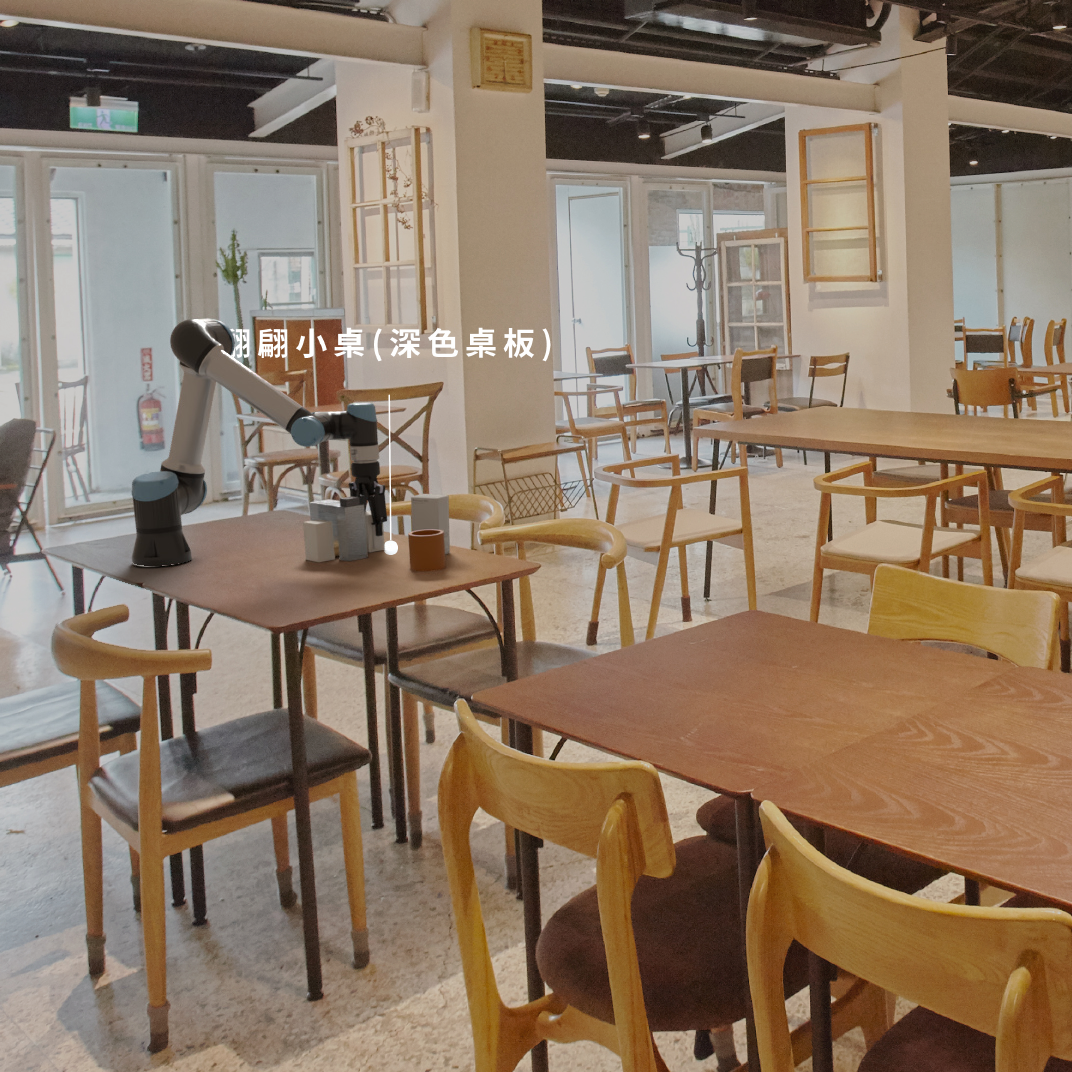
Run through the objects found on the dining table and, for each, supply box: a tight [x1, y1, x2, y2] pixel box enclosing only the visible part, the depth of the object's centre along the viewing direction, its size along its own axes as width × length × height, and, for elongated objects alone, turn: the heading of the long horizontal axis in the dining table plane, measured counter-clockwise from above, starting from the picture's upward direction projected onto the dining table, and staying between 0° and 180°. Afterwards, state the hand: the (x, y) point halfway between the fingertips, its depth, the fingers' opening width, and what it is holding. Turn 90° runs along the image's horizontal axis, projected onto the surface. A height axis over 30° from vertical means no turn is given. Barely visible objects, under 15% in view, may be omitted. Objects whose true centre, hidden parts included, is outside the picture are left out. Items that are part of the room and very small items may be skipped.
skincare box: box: [410, 493, 451, 556], centre depth 317 cm, size 8×7×16 cm
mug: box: [407, 529, 447, 572], centre depth 302 cm, size 9×12×9 cm
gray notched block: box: [309, 496, 369, 562], centre depth 320 cm, size 16×6×16 cm, turn 43°
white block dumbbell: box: [302, 510, 386, 563], centre depth 321 cm, size 6×21×10 cm, turn 133°
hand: (370, 546), depth 327 cm, fingers closed on white block dumbbell, 6 cm apart
